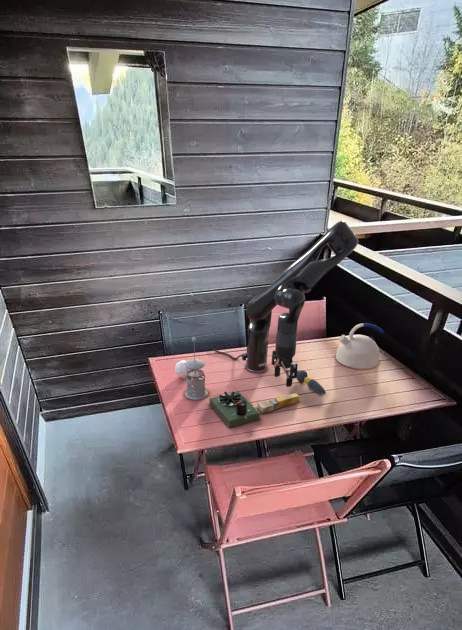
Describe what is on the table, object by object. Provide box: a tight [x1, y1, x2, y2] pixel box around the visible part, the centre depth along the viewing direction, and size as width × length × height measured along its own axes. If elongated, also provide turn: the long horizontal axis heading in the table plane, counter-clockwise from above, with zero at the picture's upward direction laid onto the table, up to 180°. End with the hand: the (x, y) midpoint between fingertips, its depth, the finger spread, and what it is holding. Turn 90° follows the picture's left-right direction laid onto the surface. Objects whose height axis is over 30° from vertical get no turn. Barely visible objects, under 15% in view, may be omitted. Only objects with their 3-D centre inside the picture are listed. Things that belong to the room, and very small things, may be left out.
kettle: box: [335, 322, 385, 370], centre depth 206 cm, size 20×21×18 cm
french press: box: [184, 337, 209, 401], centre depth 178 cm, size 10×12×25 cm
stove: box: [208, 390, 261, 428], centre depth 172 cm, size 19×13×3 cm
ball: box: [174, 359, 192, 379], centre depth 194 cm, size 8×8×8 cm
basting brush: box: [257, 392, 300, 414], centre depth 177 cm, size 17×4×3 cm, turn 117°
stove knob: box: [236, 400, 247, 416], centre depth 166 cm, size 4×4×5 cm
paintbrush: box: [296, 369, 326, 395], centre depth 189 cm, size 20×5×5 cm, turn 38°
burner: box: [218, 391, 241, 407], centre depth 174 cm, size 9×9×2 cm
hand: (282, 381), depth 171 cm, fingers open, 8 cm apart
